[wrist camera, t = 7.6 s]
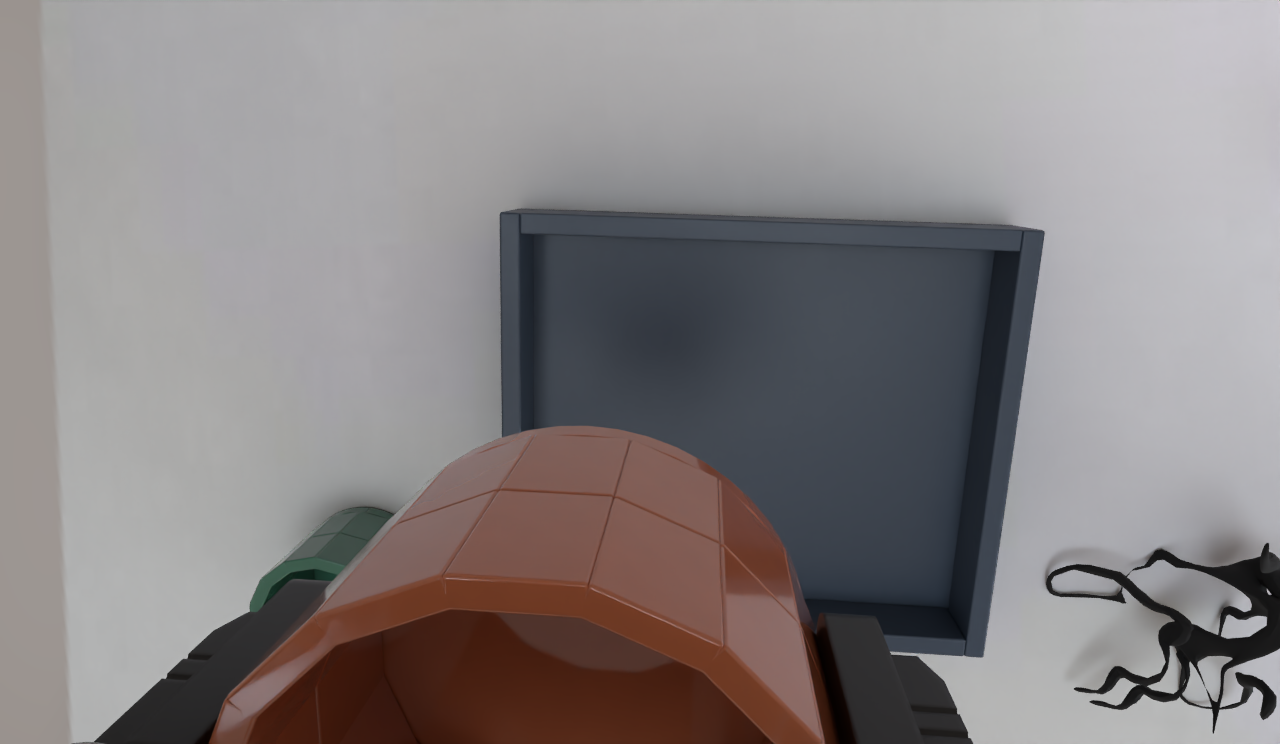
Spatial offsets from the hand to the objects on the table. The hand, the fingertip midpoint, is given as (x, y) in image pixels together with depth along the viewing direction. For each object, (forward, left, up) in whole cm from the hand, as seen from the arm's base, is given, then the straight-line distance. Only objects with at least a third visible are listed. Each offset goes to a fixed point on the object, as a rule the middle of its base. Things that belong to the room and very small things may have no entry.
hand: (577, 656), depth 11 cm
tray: (+3, -1, -16) cm, 16 cm away
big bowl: (0, 0, -1) cm, 1 cm away
